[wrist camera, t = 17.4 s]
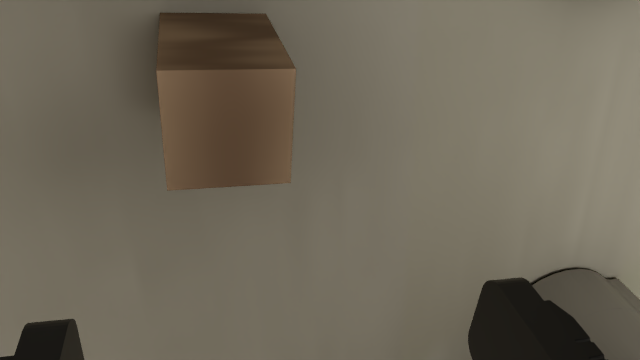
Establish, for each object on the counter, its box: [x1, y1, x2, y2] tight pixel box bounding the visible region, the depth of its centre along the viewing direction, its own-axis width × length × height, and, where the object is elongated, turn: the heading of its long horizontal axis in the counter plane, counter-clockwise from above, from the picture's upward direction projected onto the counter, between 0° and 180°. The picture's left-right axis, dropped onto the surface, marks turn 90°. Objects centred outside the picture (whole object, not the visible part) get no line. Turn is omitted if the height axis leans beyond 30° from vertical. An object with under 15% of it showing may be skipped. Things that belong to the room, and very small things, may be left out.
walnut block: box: [156, 13, 296, 191], centre depth 22 cm, size 4×4×7 cm
